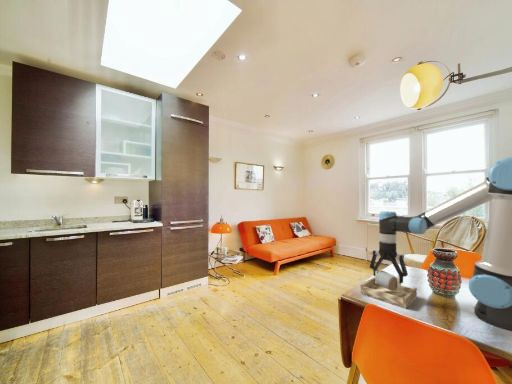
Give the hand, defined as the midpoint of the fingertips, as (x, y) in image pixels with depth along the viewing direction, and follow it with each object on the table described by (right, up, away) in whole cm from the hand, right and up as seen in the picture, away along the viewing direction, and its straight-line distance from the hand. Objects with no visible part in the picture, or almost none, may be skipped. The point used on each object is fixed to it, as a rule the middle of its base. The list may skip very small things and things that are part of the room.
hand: (387, 285), depth 112 cm
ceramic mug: (+1, -1, 0) cm, 2 cm away
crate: (0, -5, 0) cm, 5 cm away
